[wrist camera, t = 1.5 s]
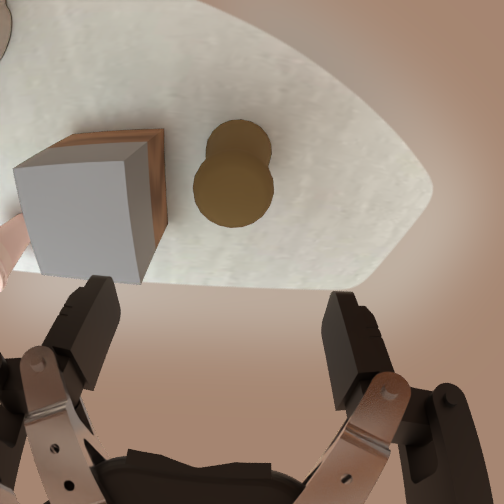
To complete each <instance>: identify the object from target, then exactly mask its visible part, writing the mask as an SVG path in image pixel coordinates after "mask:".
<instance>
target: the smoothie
mask: <svg viewBox="0 0 504 504" xmlns="http://www.w3.org/2000/svg"><path fill="white" fill-rule="evenodd" d="M30 242H31V241H30V238H29V234H28V231H27V227H26V224H25V220H24V217H23V213H21V214H18V215H17V216H15V217H14V218H12V219H11V220H9V221H8V222H6V223H5V224H3V225H2V226H0V292H1V291H2V290H3V289H4V288H5V286H6V284H7V278H8V276H9V275H10V273H11V271H12V270H13V268H14V266H15V265H16V263H17V262H18V260H19V258H20V257H21V255H22V254H23V252H24V251H25V249H26V248H27V246H28V245H29V243H30Z"/></svg>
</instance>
